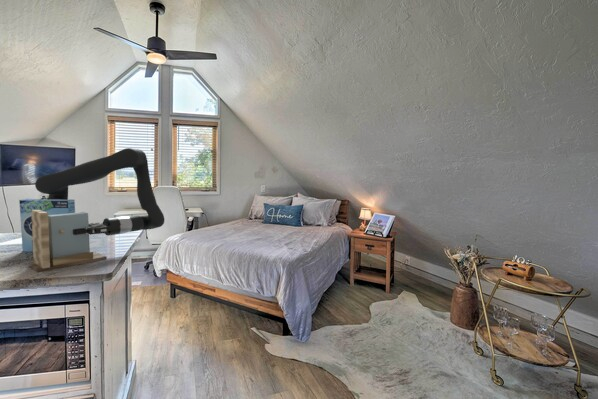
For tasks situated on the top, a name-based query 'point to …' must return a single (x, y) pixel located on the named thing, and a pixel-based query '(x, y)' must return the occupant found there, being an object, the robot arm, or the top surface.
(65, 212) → the gum box
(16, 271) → the top surface
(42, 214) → the hinge base
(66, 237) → the grey flat block
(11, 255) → the top surface
